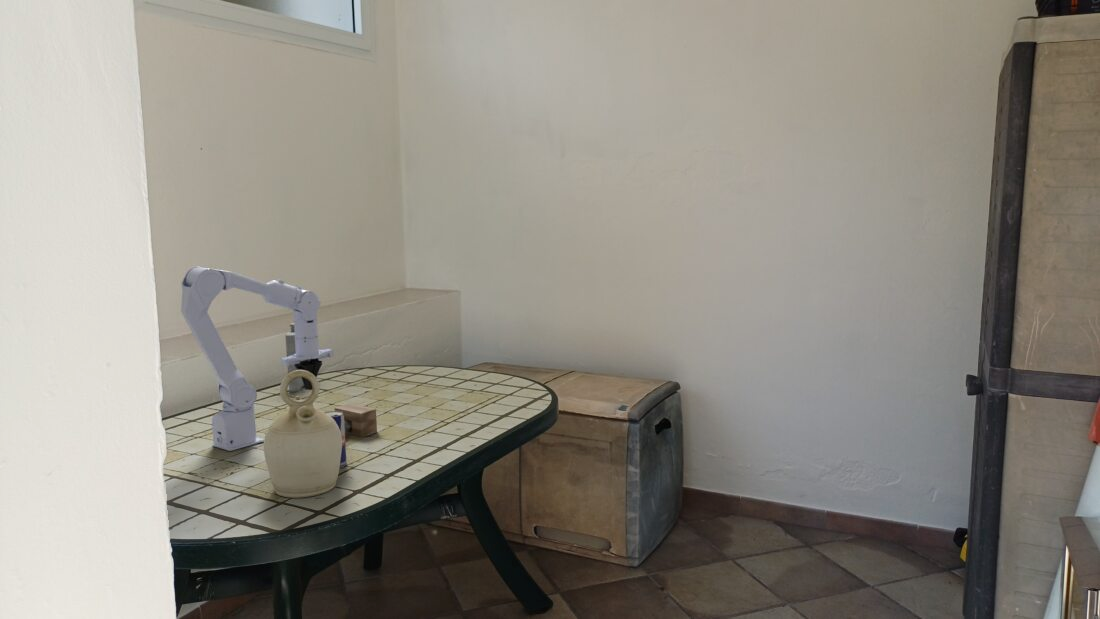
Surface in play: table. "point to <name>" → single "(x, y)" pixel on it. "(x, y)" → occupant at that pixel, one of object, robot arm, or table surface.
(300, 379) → the hip flask
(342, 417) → the energy drink
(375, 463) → the table surface
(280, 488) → the jug
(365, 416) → the socket block
